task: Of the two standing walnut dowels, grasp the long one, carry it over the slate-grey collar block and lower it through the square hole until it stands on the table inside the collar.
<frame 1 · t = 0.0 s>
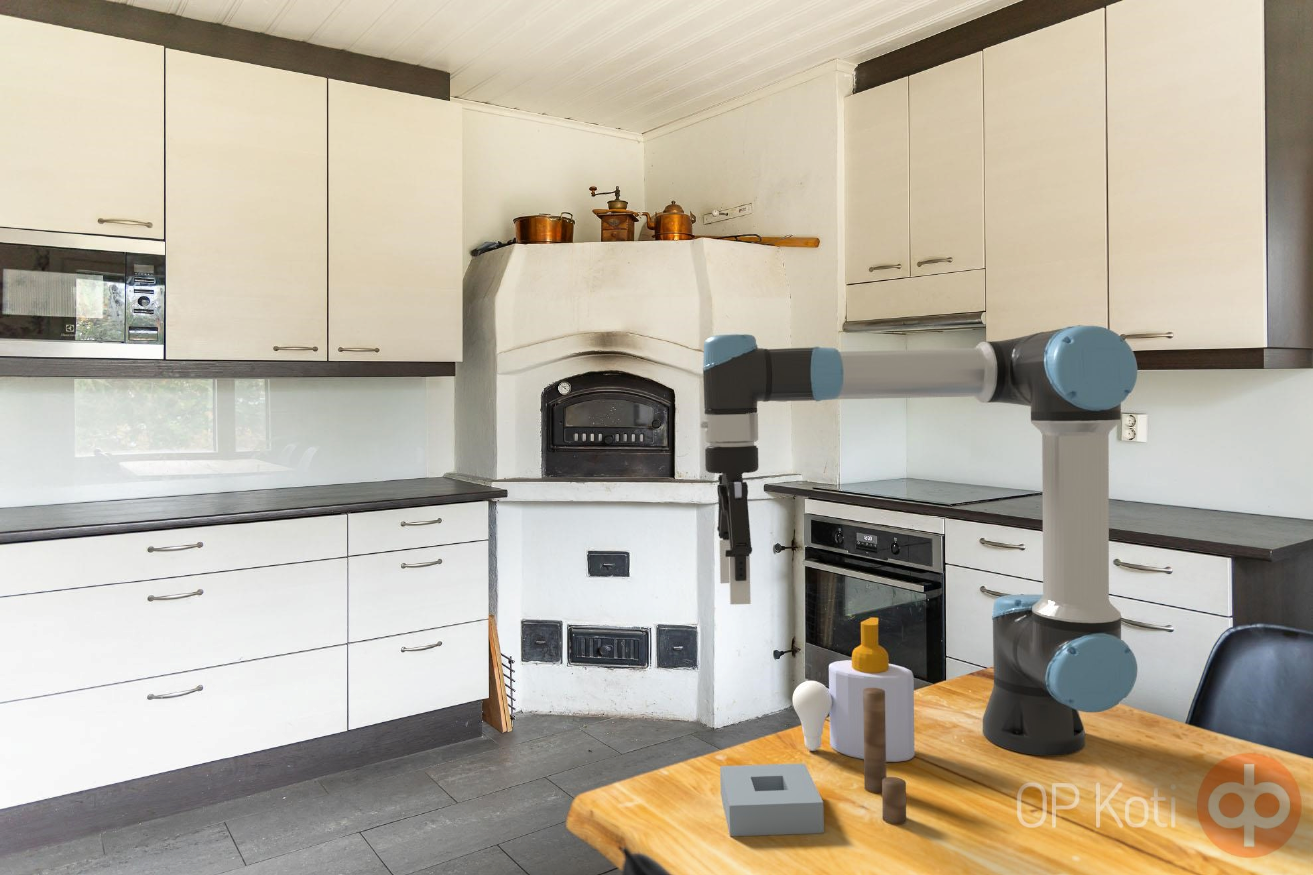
hand: (734, 592, 124), 28 cm above the table, fingers open, 13 cm apart
long pin: (875, 788, 123), on the table
collar block: (769, 812, 117), on the table
short pin: (894, 818, 114), on the table
soap bottle: (871, 752, 137), on the table
lightbulb: (813, 751, 137), on the table
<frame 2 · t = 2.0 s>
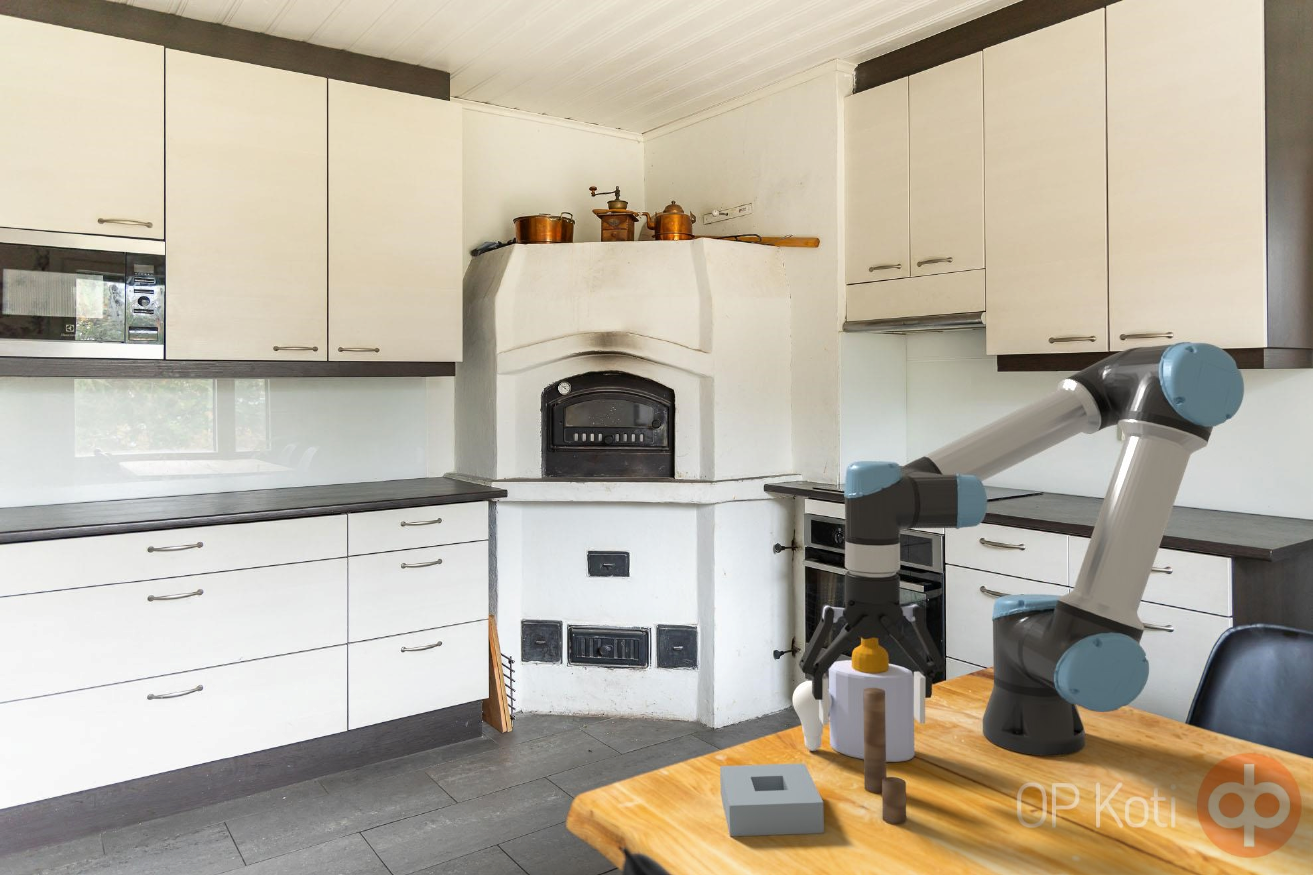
hand: (871, 720, 123), 10 cm above the table, fingers open, 13 cm apart
nothing on the table moved.
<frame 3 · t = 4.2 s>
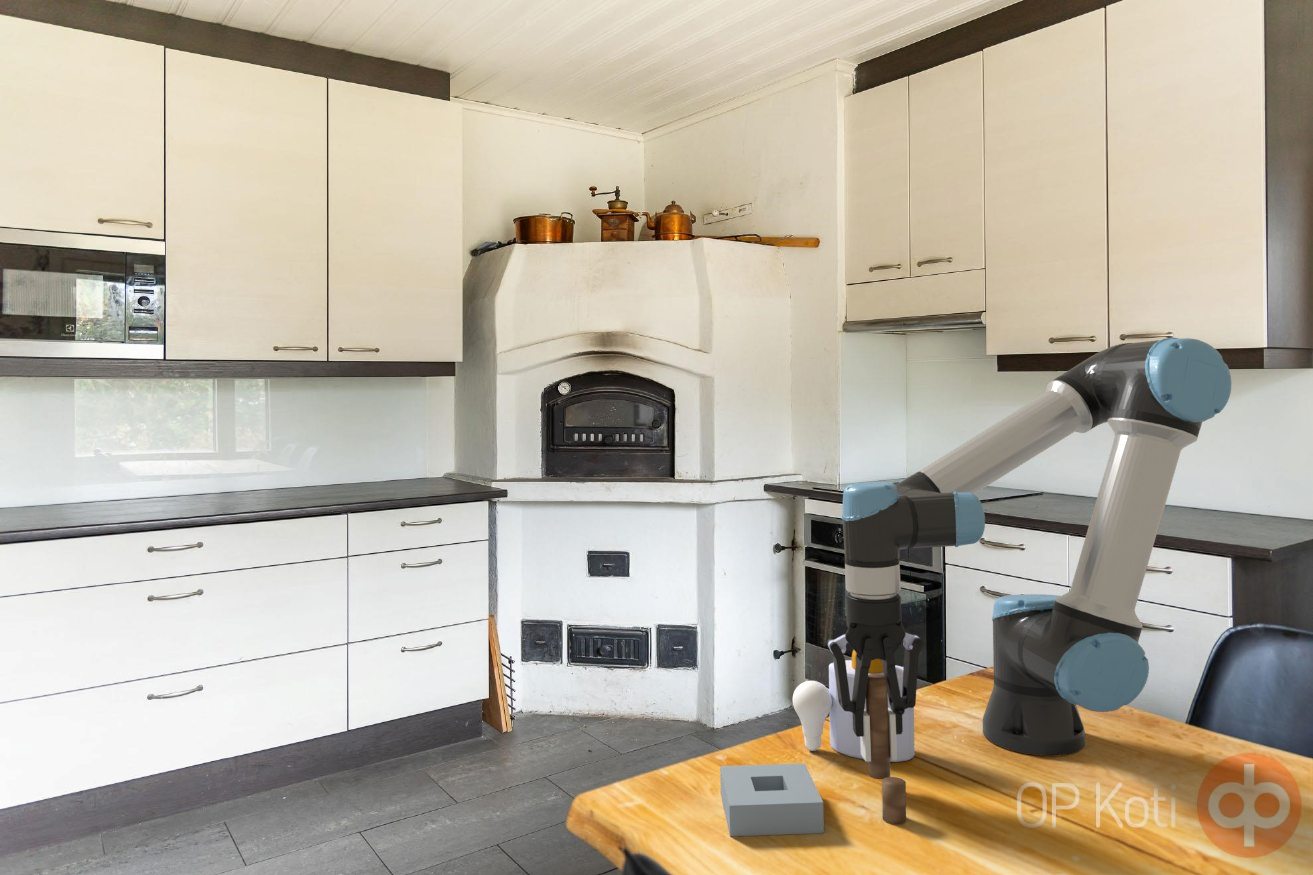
hand: (878, 756, 123), 5 cm above the table, fingers closed on long pin, 3 cm apart
long pin: (879, 774, 123), point 2 cm above the table, touching gripper
everything else where it was.
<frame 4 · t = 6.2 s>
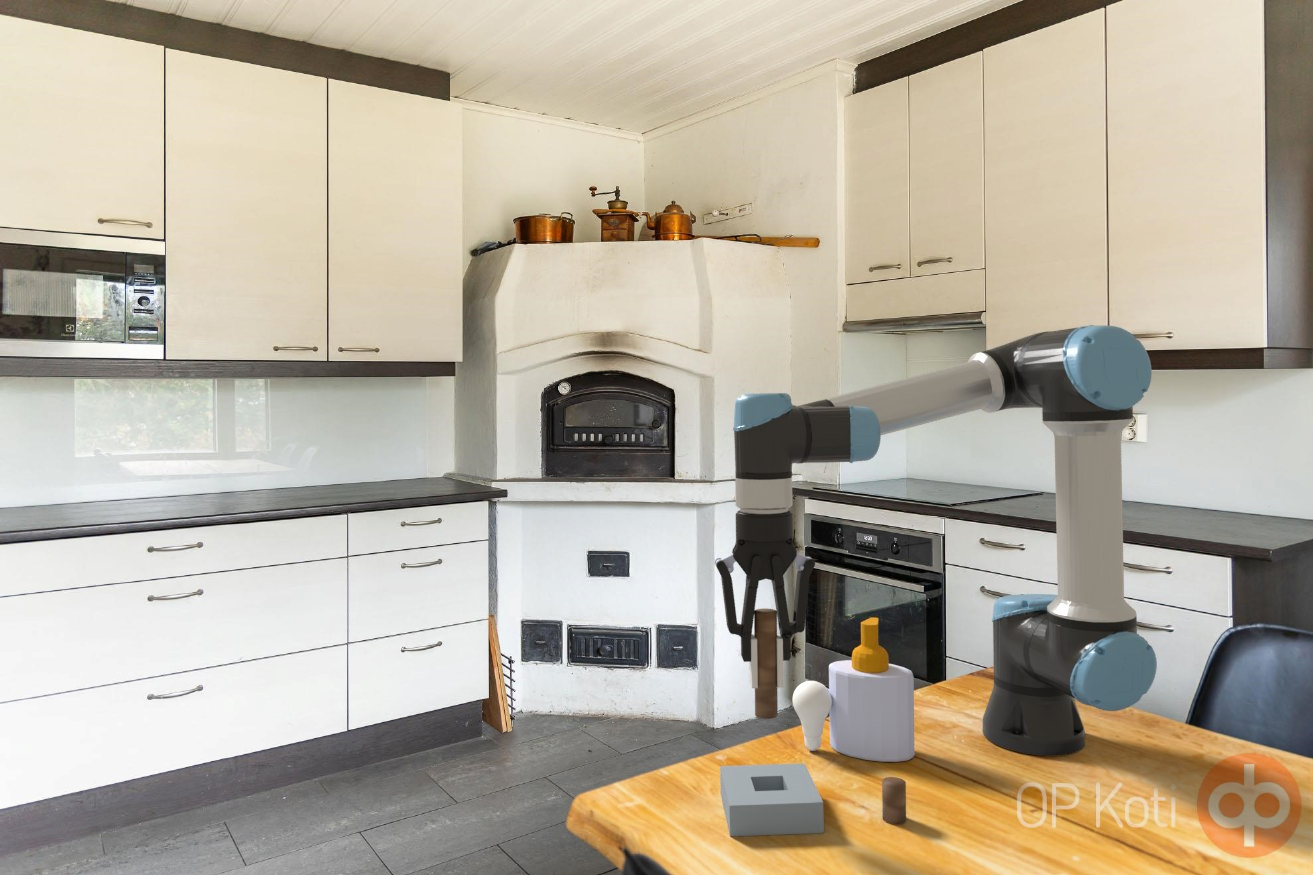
hand: (766, 684, 116), 18 cm above the table, fingers closed on long pin, 3 cm apart
long pin: (766, 714, 116), point 13 cm above the table, touching gripper
everything else where it was.
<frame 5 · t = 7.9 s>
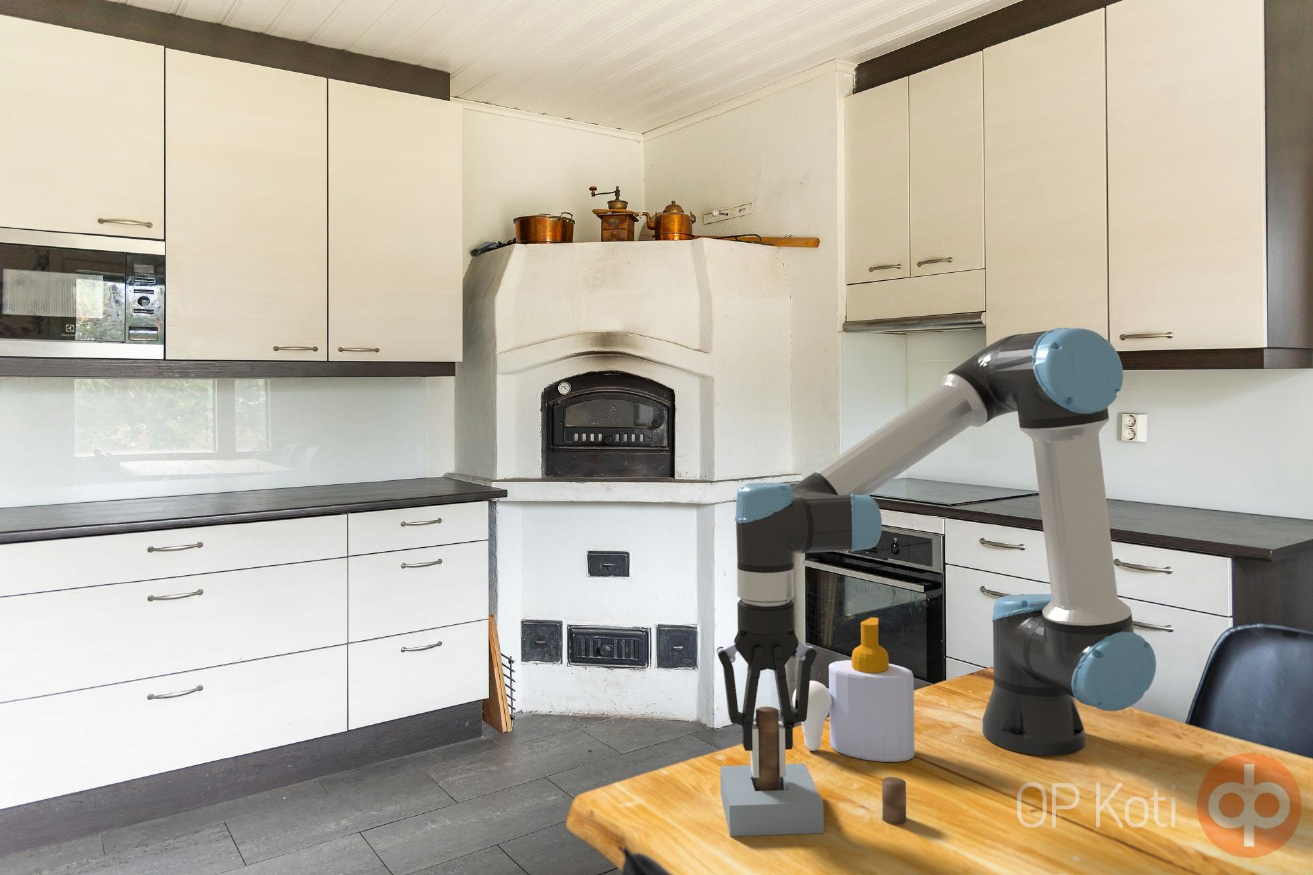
hand: (767, 772, 117), 5 cm above the table, fingers closed on long pin, 3 cm apart
long pin: (768, 812, 117), resting in collar block, touching gripper
everything else where it was.
when the fingers open (5 cm above the table, at t = 8.7 s): long pin stays where it is, resting in collar block.
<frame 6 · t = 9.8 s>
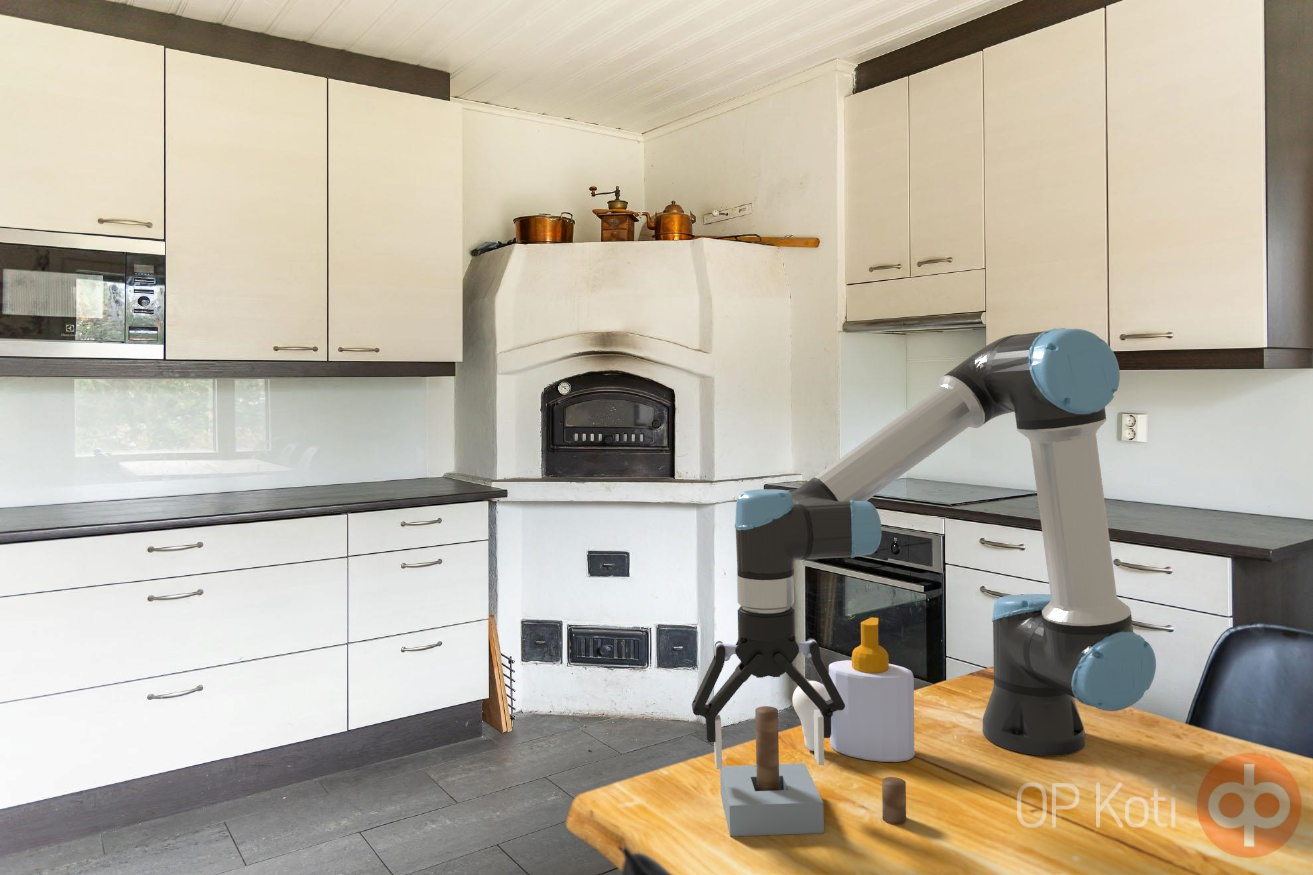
hand: (768, 763, 117), 7 cm above the table, fingers open, 13 cm apart
long pin: (768, 812, 117), resting in collar block
everything else where it was.
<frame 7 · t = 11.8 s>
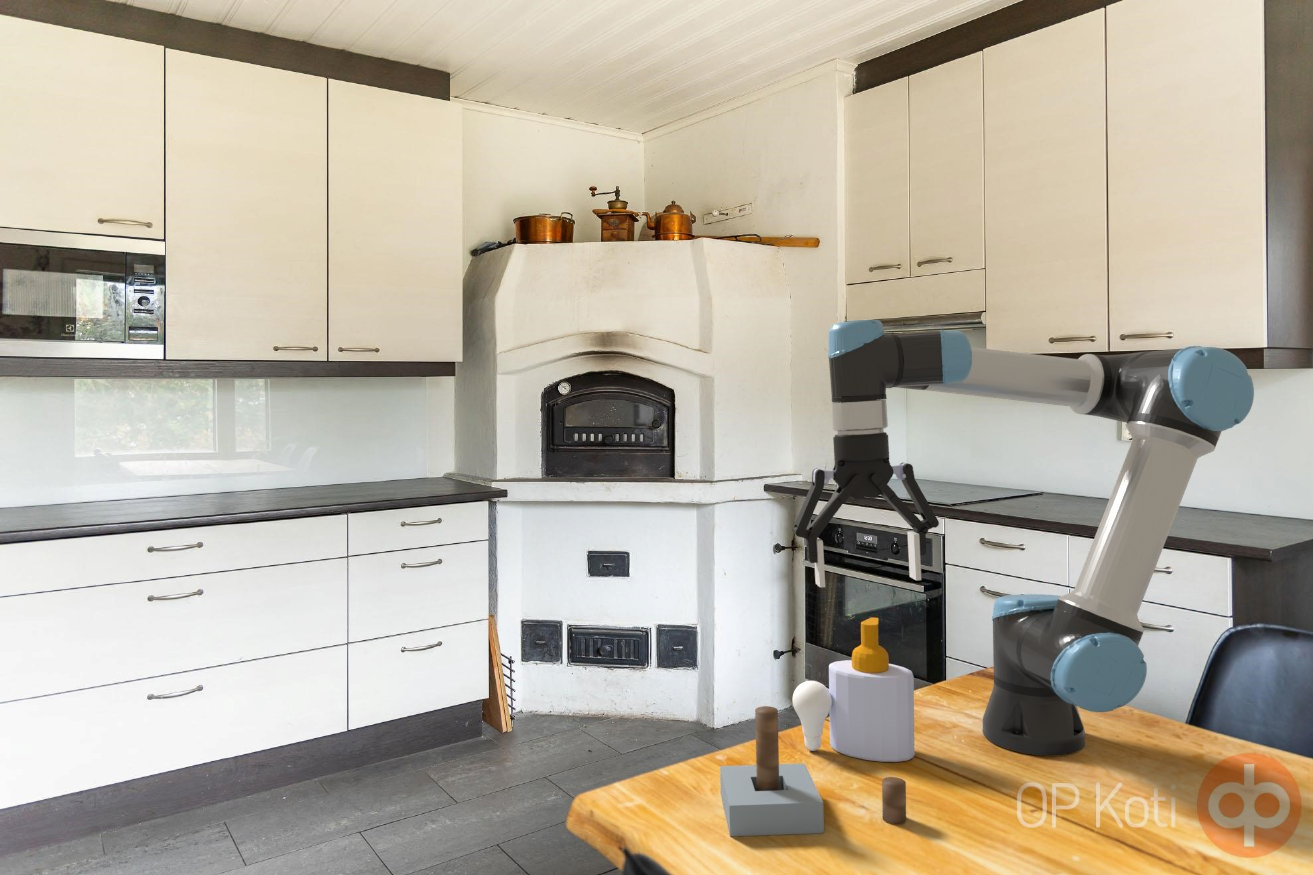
hand: (868, 582, 123), 29 cm above the table, fingers open, 13 cm apart
nothing on the table moved.
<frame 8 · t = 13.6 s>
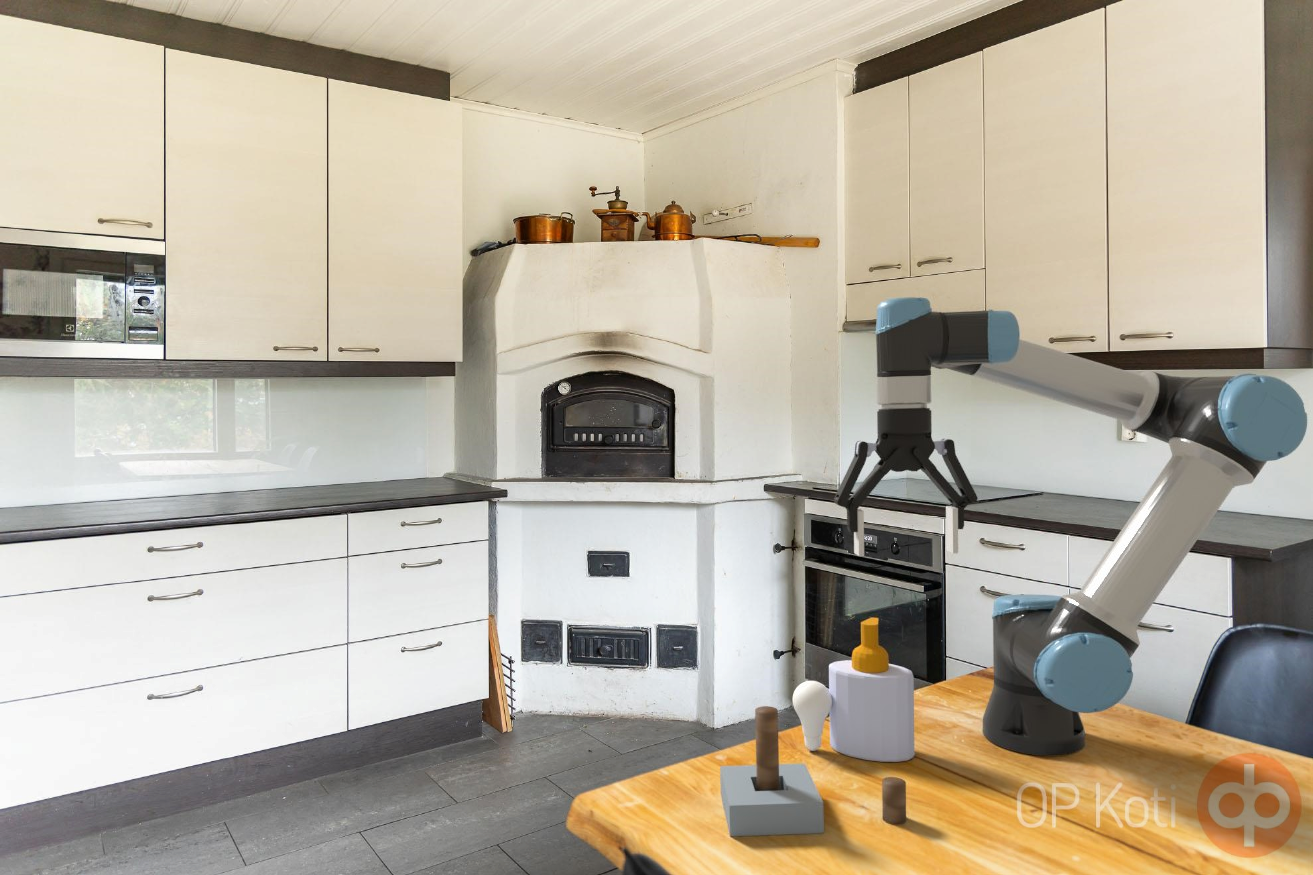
hand: (905, 553, 126), 33 cm above the table, fingers open, 13 cm apart
nothing on the table moved.
at the end: long pin 0.2 cm off-centre on the collar block, point 0.0 cm above the collar block's base; long pin tilted 0°; the gripper is holding nothing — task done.
